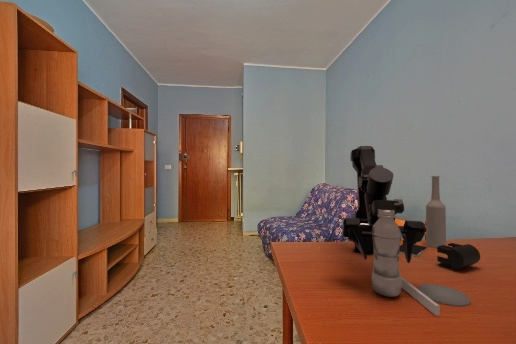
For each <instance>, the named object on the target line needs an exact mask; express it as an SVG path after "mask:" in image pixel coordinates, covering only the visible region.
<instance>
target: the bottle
mask: <svg viewBox="0 0 516 344" xmlns="http://www.w3.org/2000/svg"><path fill="white" fill-rule="evenodd" d="M430 198H431V199H430V200H429V202H427V203H426V205H425V227H426V232H425V245H426V246H427V245H428V246H427V247H429V246H430V247H429V248H433V247H435V248H434V249H437V247H438V246H441V245H445V246H447V223H446V222H447V219H446V217H447V215H446V213H447V212H446V211H447V209H446V205H445V204H444V203H443V202H442V200H441V194H440V175H431V195H430Z"/></svg>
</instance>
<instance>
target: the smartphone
mask: <svg viewBox="0 0 516 344" xmlns="http://www.w3.org/2000/svg"><path fill="white" fill-rule="evenodd" d="M427 249H428V246H424V245H419V244H413V246H412V254H411V257H414V258H417V257H419V256H421V255H422V254H423V253H424V252H425V251H426V250H427ZM399 255H404V256H405V252H404V247H403V243H402V244H400V248H399Z"/></svg>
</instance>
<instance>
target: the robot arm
mask: <svg viewBox="0 0 516 344" xmlns="http://www.w3.org/2000/svg"><path fill="white" fill-rule="evenodd" d="M349 157H350V158H349V159H350V162H352V163H351V165H352V168H353V170H354V171H355V172H356V181H357V183H356V185H357V205H358V208H357V210H356V211H355V213H354V215H353V216H354V217H344V218H343V220H342V237H344V238H348V240H349V241H352V242H353V244H354V249H353V252H354V253H360V254H361V255H362V257H363V259H364V260H367V259H368V258H367V257H368V255H371V256H372V255H373V256H374V245H373V238H372V227H373V225H374V224H375V223H376V221H377V220H378V219H379V217H378V216H377V214H378V209H380V210H394V211H395V215H397V214H401V215H402V214H403V213H404V212H405V206H404V205H405V204H404V202H403V199H402V198H400V199H399V198H394V199H393V200H392V199H388V197H387V196H388V195H390V191H391V187H392V185H393V180H394V173H393V172H392V171H391V170H390V169H388V168H386V167H384V165H383V164H377V162H376V150H375V149H374V147H373V146H371V145H361V146H358V147H356V148H354V149H352V150H351V151H350V155H349ZM394 221H395V222H396V217H395V218H394ZM398 226H399V228H400V230H401V233H402V234H401V239H402V244H403V247H404V252H405V255H404V257H405V260H406V262H407V263H408V264H411V260H412V256H411V254H412V246H413V244H414V245H417V243H420V242H422V241H423V238H424V237H425V235H426V223H425V222H423V221H421V220H408V219H407V220H404V224H403V225H398Z"/></svg>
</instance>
